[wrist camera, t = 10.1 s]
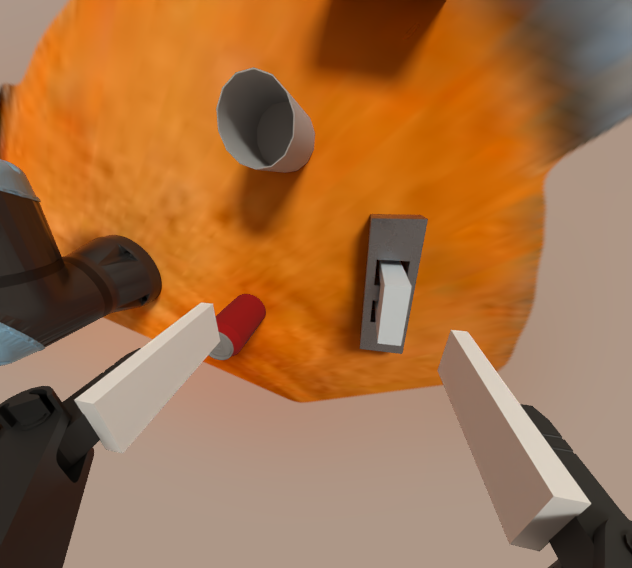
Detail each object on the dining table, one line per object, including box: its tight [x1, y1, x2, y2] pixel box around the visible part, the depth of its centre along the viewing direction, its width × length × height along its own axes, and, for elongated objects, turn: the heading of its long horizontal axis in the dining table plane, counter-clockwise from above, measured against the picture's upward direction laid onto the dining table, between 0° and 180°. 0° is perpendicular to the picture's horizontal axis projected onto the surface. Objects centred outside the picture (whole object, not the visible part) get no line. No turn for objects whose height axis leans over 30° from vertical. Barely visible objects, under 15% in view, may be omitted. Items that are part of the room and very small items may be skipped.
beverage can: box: [209, 294, 266, 360], centre depth 39 cm, size 7×7×12 cm
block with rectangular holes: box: [360, 214, 428, 354], centre depth 35 cm, size 7×22×4 cm, turn 0°
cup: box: [216, 68, 315, 173], centre depth 27 cm, size 8×8×10 cm
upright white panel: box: [374, 260, 412, 346], centre depth 33 cm, size 9×3×10 cm, turn 0°
